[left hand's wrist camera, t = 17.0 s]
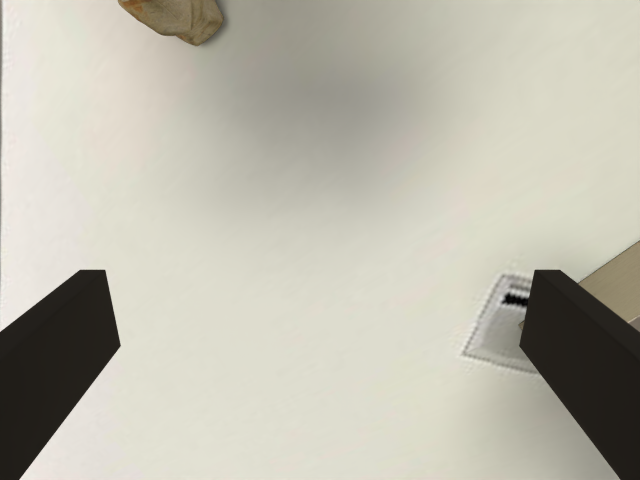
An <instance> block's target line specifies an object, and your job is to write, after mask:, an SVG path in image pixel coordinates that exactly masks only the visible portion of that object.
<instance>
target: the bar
mask: <svg viewBox="0 0 640 480" xmlns="http://www.w3.org/2000/svg"><path fill="white" fill-rule="evenodd" d="M578 284H579V285H580V286H581V287H583V288H584V289H585V290H586V291H588V292H589V293H590V294H592V295H593V296H594V297H595V298H597V299H598V300H599V301H601V302H602V303H603V304H604V305H606V306H607V307H608V308H610V309H611V310H612V311H613V312H615V313H616V314H617V315H619V316H620V317H621V318H622V319H624V320H625V321H626V322H628V323H629V324H630V325H631V326H633V327H634V328H635V329H637V330H638V331H639V332H640V241H639V242H637V243H636V244H634V245H633V246H632V247H630V248H629V249H627V250H626V251H624V252H623V253H621V254H620V255H619V256H617V257H616V258H614V259H613V260H611V261H610V262H608V263H607V264H606V265H604V266H603V267H601V268H600V269H598V270H597V271H596V272H594V273H593V274H591V275H590V276H588V277H587V278H585V279H584V280H583V281H581V282H580V283H578ZM523 325H524V321H523V322H522V323H520V324H519V327H520V328H521V329H522V330H523Z"/></svg>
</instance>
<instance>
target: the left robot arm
mask: <svg viewBox="0 0 640 480" xmlns="http://www.w3.org/2000/svg"><path fill="white" fill-rule="evenodd" d="M120 346H121V345H120V340H119V335H118V330H117V325H116V320H115V315H114V311H113V306H112V301H111V296H110V291H109V286H108V281H107V276H106V271H105V270H79V271H78V272H77V273H75V274H74V275H73V276H72V277H70V278H69V279H68V280H66V281H65V282H64V283H63V284H61V285H60V286H59V287H57V288H56V289H55V290H54V291H52V292H51V293H50V294H48V295H47V296H46V297H45V298H43V299H42V300H41V301H39V302H38V303H37V304H36V305H34V306H33V307H32V308H30V309H29V310H28V311H27V312H25V313H24V314H23V315H21V316H20V317H19V318H18V319H16V320H15V321H14V322H12V323H11V324H10V325H9V326H7V327H6V328H5V329H3V330H2V331H1V332H0V480H19V479H20V478H21V477H22V475H23V474H24V473H25V471H26V470H27V469H28V467H29V466H30V465H31V464H32V462H33V461H34V460H35V458H36V457H37V456H38V454H39V453H40V452H41V450H42V449H43V448H44V446H45V445H46V444H47V442H48V441H49V440H50V438H51V437H52V436H53V435H54V433H55V432H56V431H57V429H58V428H59V427H60V425H61V424H62V423H63V421H64V420H65V419H66V417H67V416H68V415H69V413H70V412H71V411H72V409H73V408H74V407H75V406H76V404H77V403H78V402H79V400H80V399H81V398H82V396H83V395H84V394H85V392H86V391H87V390H88V388H89V387H90V386H91V384H92V383H93V382H94V380H95V379H96V378H97V377H98V375H99V374H100V373H101V371H102V370H103V369H104V367H105V366H106V365H107V363H108V362H109V361H110V359H111V358H112V357H113V355H114V354H115V353H116V351H117V350H118V349H119V348H120ZM519 346H520V348H521V349H522V350H523V351H524V353H525V354H526V355H527V357H528V358H529V359H530V361H531V362H532V363H533V365H534V366H535V367H536V369H537V370H538V371H539V373H540V374H541V375H542V377H543V378H544V379H545V380H546V382H547V383H548V384H549V386H550V387H551V388H552V390H553V391H554V392H555V394H556V395H557V396H558V398H559V399H560V400H561V402H562V403H563V404H564V406H565V407H566V408H567V409H568V411H569V412H570V413H571V415H572V416H573V417H574V419H575V420H576V421H577V423H578V424H579V425H580V427H581V428H582V429H583V431H584V432H585V433H586V435H587V436H588V437H589V438H590V440H591V441H592V442H593V444H594V445H595V446H596V448H597V449H598V450H599V452H600V453H601V454H602V456H603V457H604V458H605V460H606V461H607V462H608V464H609V465H610V466H611V467H612V469H613V470H614V471H615V473H616V474H617V475H618V477H619V478H620V479H621V480H640V332H639V331H638V330H637V329H635V328H634V327H633V326H631V325H630V324H629V323H628V322H626V321H625V320H624V319H622V318H621V317H620V316H619V315H617V314H616V313H615V312H613V311H612V310H611V309H610V308H608V307H607V306H606V305H604V304H603V303H602V302H601V301H599V300H598V299H597V298H595V297H594V296H593V295H592V294H590V293H589V292H588V291H586V290H585V289H584V288H583V287H581V286H580V285H579V284H577V283H576V282H575V281H574V280H572V279H571V278H570V277H568V276H567V275H566V274H565V273H563V272H562V271H561V270H535V271H534V276H533V281H532V286H531V291H530V296H529V301H528V306H527V311H526V315H525V320H524V325H523V330H522V335H521V340H520V345H519Z"/></svg>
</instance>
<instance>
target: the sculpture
mask: <svg viewBox="0 0 640 480" xmlns="http://www.w3.org/2000/svg"><path fill="white" fill-rule="evenodd" d="M118 3H119V4H120V6H121V7H122V8H124V9H125V10H126V11H127V12H128V13H130V14H131V15H132V16H133V17H135V18H136V19H137V20H138V21H140V22H142V23H143V24H145V25H147V26H148V27H149V28H151V29H153V30H154V31H155V32H157V33H159V34H161V35H165V36H175V35H176V36H177V37H178V38H180V39H182V40H183V41H185V42H187V43H189V44H192V45H194V46H199V45H200V44H202V43H203V42H205V41H206V40H207V39H208V38H209V37H211V36H212V35H213V34H214V33H215V32H216V31H217V30H218V29H219V27H220V26H221V24H222V21H223V20H224V18H223V15H222V14H221V12H220V10H219V9H218V7H217V4H216V2H215V0H118Z"/></svg>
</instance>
